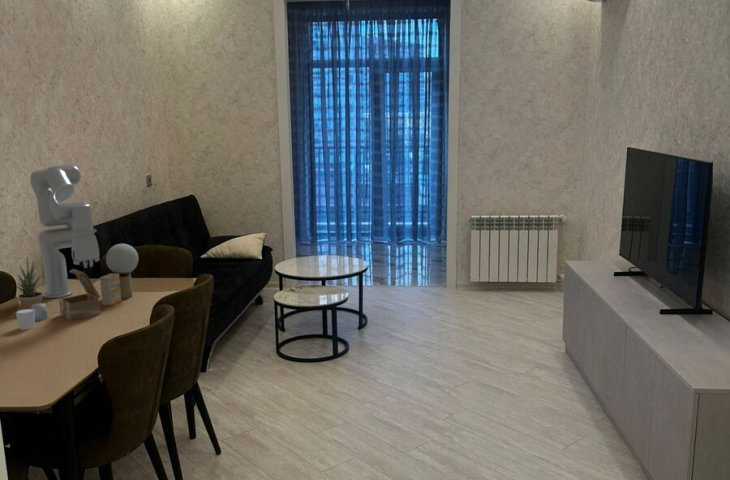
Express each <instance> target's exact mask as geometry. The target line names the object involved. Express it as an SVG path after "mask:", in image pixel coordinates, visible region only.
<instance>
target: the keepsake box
mask: <svg viewBox="0 0 730 480" xmlns="http://www.w3.org/2000/svg"><path fill="white" fill-rule="evenodd" d="M58 302H59V304H58V305H59V310H60V311H59V312H60V316H62V317H64V318H65V319H68V320H70V321H76V320H80V319H85V318H88V317H94V316H99V315H101V311H100V298H97V297H95V296H92V295H90V294H88V293H85V294H77V295H74V296H66V297H61V298H59V299H58Z"/></svg>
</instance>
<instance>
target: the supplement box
mask: <svg viewBox="0 0 730 480" xmlns="http://www.w3.org/2000/svg"><path fill="white" fill-rule="evenodd" d="M99 281H100V292H101V293H100V294H101V303H102V306H104V307H105V306H106V307H110V306H114V305H116V304H118V303H120V302H122V300H121V291H120V280H119V274H118V273H115V272H113V273H108V274H105V275H103V276H100V277H99Z"/></svg>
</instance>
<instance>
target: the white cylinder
mask: <svg viewBox="0 0 730 480" xmlns="http://www.w3.org/2000/svg"><path fill="white" fill-rule="evenodd" d="M15 316H16V320H17V325H18V329H19V330H20V329H21V331H27V330H26V329H28V330H32V329H34V328H35V327H36V321H35V310H34V309H23V308H22V309H20V310H17V311H15ZM31 328H32V329H31Z"/></svg>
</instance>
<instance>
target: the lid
mask: <svg viewBox="0 0 730 480" xmlns="http://www.w3.org/2000/svg"><path fill="white" fill-rule="evenodd" d="M69 273H70V274H73V275H75V276H76V278H77V280H78V281H79V282H80V284H81V286H82V287H83V289H84V291H85V292H86V294H89V295H92V296H94V297H97V298H99V299H101V296H100V294H99V292H98V291H97V289H96V288H95V286H94V284H93V283H92V281H91V280H90V277H88V276H87V274H85V273H84V271H81V270H79V269H75V268H72V269H71V270H69Z"/></svg>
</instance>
